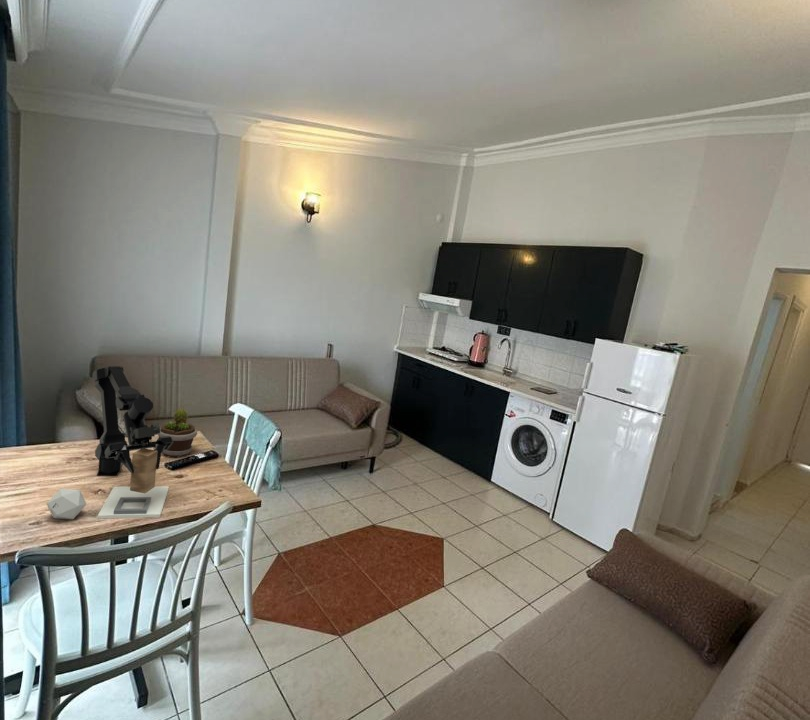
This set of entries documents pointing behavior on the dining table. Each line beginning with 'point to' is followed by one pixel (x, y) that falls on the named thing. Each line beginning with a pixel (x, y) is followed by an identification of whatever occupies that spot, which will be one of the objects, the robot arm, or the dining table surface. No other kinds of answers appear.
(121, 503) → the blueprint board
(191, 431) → the flowerpot
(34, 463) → the dining table surface
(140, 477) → the brown paper bag
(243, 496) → the dining table surface
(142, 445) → the robot arm
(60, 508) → the die
